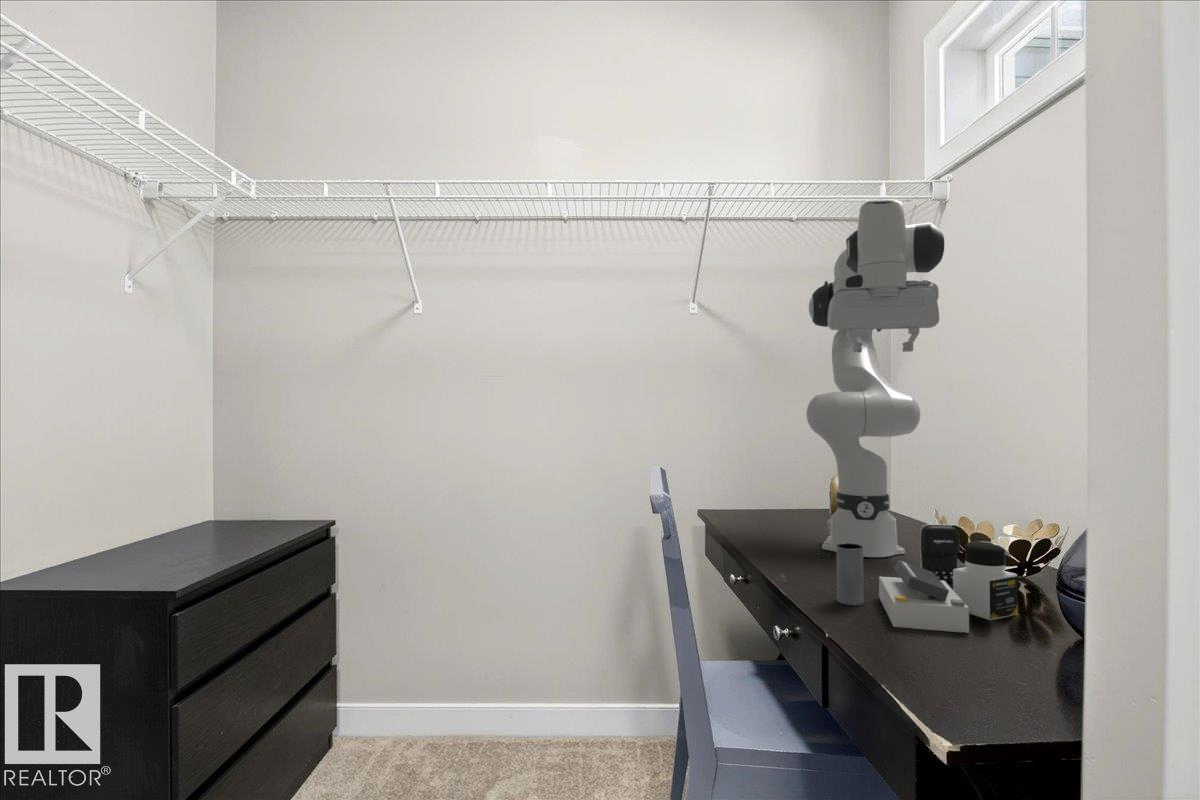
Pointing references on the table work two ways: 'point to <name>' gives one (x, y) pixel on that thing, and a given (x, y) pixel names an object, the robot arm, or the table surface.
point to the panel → (922, 607)
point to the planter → (850, 574)
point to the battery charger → (939, 550)
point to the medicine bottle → (986, 582)
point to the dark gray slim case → (921, 580)
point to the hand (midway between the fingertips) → (882, 351)
